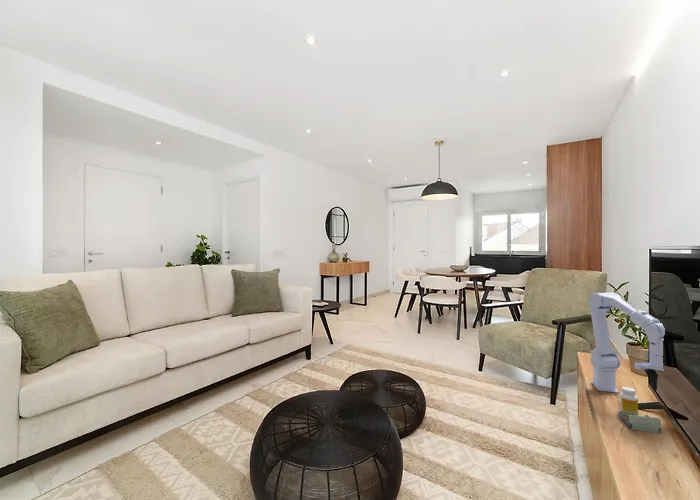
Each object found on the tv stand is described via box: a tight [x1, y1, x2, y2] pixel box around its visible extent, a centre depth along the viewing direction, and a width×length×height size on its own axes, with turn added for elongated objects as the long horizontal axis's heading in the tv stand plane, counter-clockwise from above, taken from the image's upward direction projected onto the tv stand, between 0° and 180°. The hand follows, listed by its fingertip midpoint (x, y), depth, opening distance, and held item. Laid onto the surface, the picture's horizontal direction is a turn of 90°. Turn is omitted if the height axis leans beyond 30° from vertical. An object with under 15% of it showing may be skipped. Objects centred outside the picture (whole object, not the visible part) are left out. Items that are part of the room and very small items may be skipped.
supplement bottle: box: [619, 386, 639, 417], centre depth 123 cm, size 5×5×10 cm
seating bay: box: [618, 410, 662, 434], centre depth 116 cm, size 9×9×5 cm
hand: (660, 389), depth 120 cm, fingers open, 3 cm apart
